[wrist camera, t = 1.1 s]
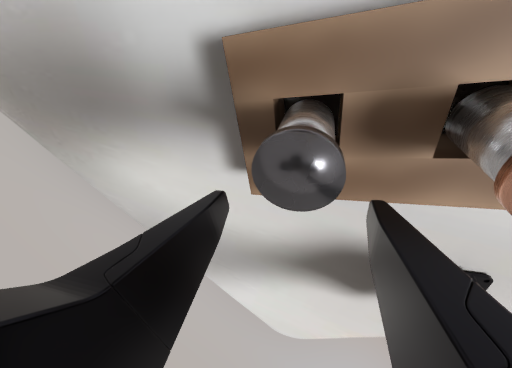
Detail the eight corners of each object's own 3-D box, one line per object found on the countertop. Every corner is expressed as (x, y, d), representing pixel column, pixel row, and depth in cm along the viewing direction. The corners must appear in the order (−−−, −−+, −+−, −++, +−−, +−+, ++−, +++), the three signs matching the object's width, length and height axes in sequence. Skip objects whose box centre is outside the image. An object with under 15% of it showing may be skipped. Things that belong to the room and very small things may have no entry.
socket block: (508, 177, 17) (549, 212, 14) (262, 171, 23) (251, 194, 20) (639, -36, 10) (776, -64, 7) (242, 35, 16) (221, 37, 13)
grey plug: (338, 152, 16) (341, 215, 11) (280, 153, 17) (257, 208, 12) (343, 90, 14) (351, 130, 8) (275, 95, 15) (244, 133, 10)
